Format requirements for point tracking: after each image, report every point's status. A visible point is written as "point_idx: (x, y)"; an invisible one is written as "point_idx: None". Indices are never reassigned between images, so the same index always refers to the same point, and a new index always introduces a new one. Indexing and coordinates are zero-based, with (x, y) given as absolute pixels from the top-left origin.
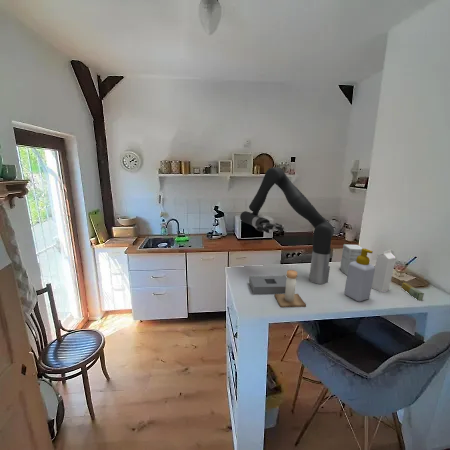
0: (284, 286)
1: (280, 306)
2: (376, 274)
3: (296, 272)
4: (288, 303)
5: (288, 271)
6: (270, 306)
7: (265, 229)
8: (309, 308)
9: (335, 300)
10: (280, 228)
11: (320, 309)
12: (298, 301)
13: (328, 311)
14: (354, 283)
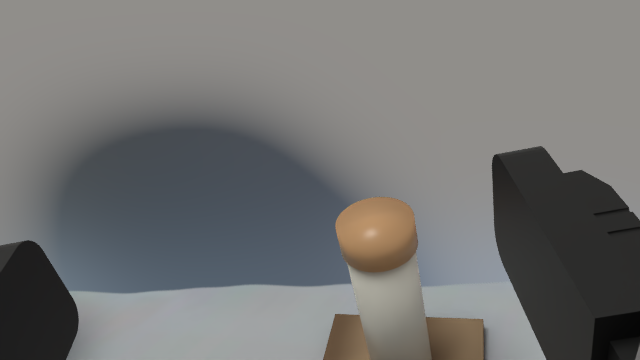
0: None
1: (483, 329)
2: None
3: (344, 217)
4: (428, 331)
5: (396, 228)
6: None
7: (622, 209)
8: (329, 310)
9: (140, 357)
10: (3, 335)
11: (281, 300)
12: (358, 343)
13: (258, 286)
14: None
